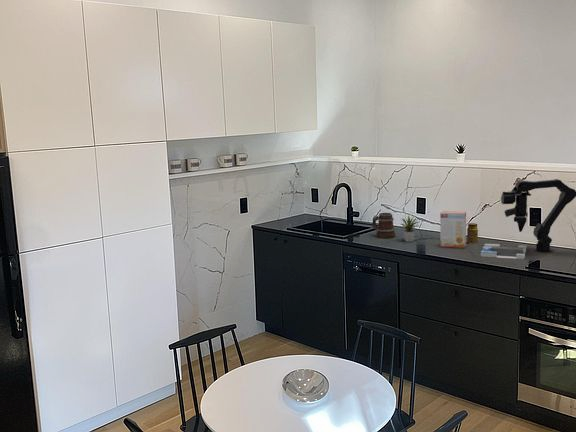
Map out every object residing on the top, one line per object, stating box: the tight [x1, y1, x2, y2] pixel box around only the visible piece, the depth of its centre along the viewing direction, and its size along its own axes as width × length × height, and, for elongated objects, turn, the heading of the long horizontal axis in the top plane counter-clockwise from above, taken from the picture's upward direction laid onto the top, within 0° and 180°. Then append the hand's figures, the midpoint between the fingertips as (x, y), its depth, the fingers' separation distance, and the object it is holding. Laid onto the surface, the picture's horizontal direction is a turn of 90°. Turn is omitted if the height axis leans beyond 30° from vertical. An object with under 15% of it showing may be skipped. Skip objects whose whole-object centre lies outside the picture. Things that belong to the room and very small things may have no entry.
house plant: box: [400, 214, 420, 243], centre depth 368 cm, size 14×14×16 cm
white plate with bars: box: [480, 243, 527, 260], centre depth 328 cm, size 22×22×4 cm
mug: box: [371, 212, 396, 239], centre depth 385 cm, size 16×12×15 cm
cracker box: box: [439, 210, 467, 249], centre depth 349 cm, size 14×6×21 cm, turn 65°
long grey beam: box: [491, 246, 523, 257], centre depth 323 cm, size 16×4×4 cm, turn 66°
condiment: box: [466, 222, 479, 246], centre depth 355 cm, size 7×8×12 cm
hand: (520, 231), depth 328 cm, fingers closed
